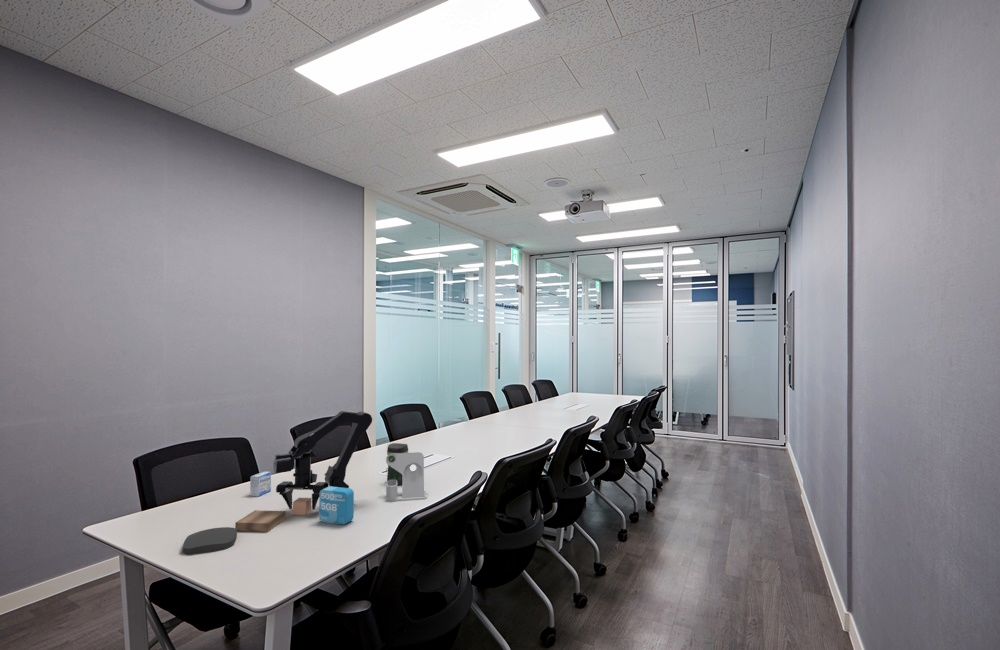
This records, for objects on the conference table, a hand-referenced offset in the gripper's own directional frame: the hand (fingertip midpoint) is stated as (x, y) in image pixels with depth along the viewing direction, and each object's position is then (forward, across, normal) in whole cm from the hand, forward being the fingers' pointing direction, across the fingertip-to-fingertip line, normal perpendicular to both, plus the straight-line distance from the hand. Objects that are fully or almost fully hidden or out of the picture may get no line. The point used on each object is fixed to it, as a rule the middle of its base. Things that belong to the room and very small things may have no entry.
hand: (302, 509), depth 184 cm
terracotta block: (+1, 0, 0) cm, 1 cm away
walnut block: (+1, +9, +13) cm, 16 cm away
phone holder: (+2, -36, -21) cm, 42 cm away
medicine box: (+2, +29, -21) cm, 36 cm away
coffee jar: (+2, -27, -40) cm, 48 cm away
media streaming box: (+2, +17, +29) cm, 34 cm away
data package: (+2, -17, +8) cm, 19 cm away
